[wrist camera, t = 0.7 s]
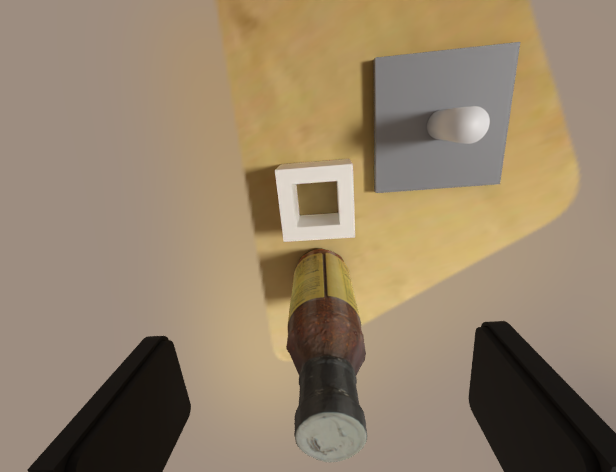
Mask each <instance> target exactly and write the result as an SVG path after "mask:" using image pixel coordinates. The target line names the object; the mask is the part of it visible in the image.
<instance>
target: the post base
mask: <svg viewBox="0 0 616 472" xmlns="http://www.w3.org/2000/svg"><path fill="white" fill-rule="evenodd" d="M519 47H520V42H515V43H506V44H497V45H488V46H478V47H469V48H460V49H451V50H442V51H433V52H423V53H414V54H405V55H396V56H387V57H377V58H375V59H374V181H375V192H376V193H384V192H398V191H411V190H425V189H439V188H452V187H466V186H480V185H494V184H500V180H501V173H502V166H503V159H504V152H505V145H506V138H507V131H508V124H509V117H510V110H511V103H512V96H513V89H514V82H515V75H516V68H517V61H518V54H519Z"/></svg>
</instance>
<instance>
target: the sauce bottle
mask: <svg viewBox="0 0 616 472" xmlns="http://www.w3.org/2000/svg"><path fill="white" fill-rule="evenodd" d="M287 340H288V341H287V346H286V347H287V350H288V352H289V353H290V355H291V358H292V360H293V362H294V364H295V367H296V369H297V371H298V374H299V385H300V397H299V406H298V408H297V410H296V413H295V440H296V444H297V445H298V447H299V448H300V449H301V450H302V451H303V452H304V453H305V454H307V455H309V456H311V457H313V458H315V459H317V460H321V461H324V462H338V461H342V460H345V459H348V458H350V457H352V456H354V455H355V454H356V453H358V452H359V451H360V450H361V449H362V448H363V447H364V445H365V443H366V440H367V430H366V422H365V416H364V412H363V410H362V408H361V407H360V405H359V401H358V394H357V389H356V375H357V373H358V371H359V369H360V367H361V365H362V363H363V362H364V360H365V355H366V352H365V345H364V338H363V334H362V331H361V321H360V316H359V312H358V308H357V304H356V300H355V296H354V292H353V287H352V283H351V279H350V274H349V270H348V268H347V266H346V265H345V263H344V261H343V259H342V258H341V257H340V256H339V255H338V254H336V253H334V252H332V251H329V250H325V249H315V250H312V251H310V252H308V253H306V254H305V255H303V256H302V257H301V258H300V260H299V262H298V264H297V266H296V269H295V272H294V277H293V286H292V293H291V302H290V311H289V320H288V339H287Z"/></svg>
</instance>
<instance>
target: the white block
mask: <svg viewBox="0 0 616 472" xmlns="http://www.w3.org/2000/svg"><path fill="white" fill-rule="evenodd" d="M275 176H276V184H277V192H278V200H279V208H280V216H281V224H282V232H283V240H284V242H288V241H304V240H321V239H337V238H353V237H355V217H354V187H353V164H352V162H351V161H350V159H339V160H327V161H315V162H303V163H290V164H281V165H280V166H279V167H278V168H277V169H276V170H275ZM329 181H337V200H338V213H327V214H312V215H300V214H299V204H298V194H297V184H303V183H316V182H329Z"/></svg>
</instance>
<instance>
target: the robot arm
mask: <svg viewBox="0 0 616 472" xmlns="http://www.w3.org/2000/svg"><path fill="white" fill-rule="evenodd" d="M469 403H470V407H471V410H472V412H473V414H474V416H475V418H476V420H477V422H478V423H479V425H480V427H481V429H482V431H483V432H484V435H485V437H486V439H487V440H488V442H489V444H490V446H491V448H492V450H493V452H494V454H495V456H496V457H497V459H498V461H499V463H500V465H501V467H502V469H503V471H504V472H616V433H615V432H614V431H613V430H612V429H611V428H610V427H609V426H608V425H607V424H606V423H605V422H604V421H603V420H602V419H601V418H600V417H599V416H598V415H597V414H596V413H595V412H594V411H593V409H592V408H591V407H589V405H588V404H587V403H586V402H585V401H584V400H583V399H582V398H581V397H580V396H579V395H578V394H577V393H576V392H575V391H574V390H573V389H572V388H571V387H570V386H569V385H568V384H567V383H566V382H565V381H564V380H563V379H562V378H561V377H560V376H559V375H558V374H557V373H556V372H555V371H554V370H553V369H552V367H551V366H550V365H549V364H548V363H547V362H546V361H545V360H544V359H543V358H542V357H541V356H540V355H539V354H538V353H537V352H536V351H535V350H534V349H533V348H532V347H531V346H530V345H529V344H528V343H527V342H526V341H525V340H524V339H523V338H522V337H521V336H520V335H519V334H518V333H517V332H516V330H515V329H514V328H513V327H512V326H511V325H510V324H508V323H507V322H505V321H498V322H484V323H483V324H482V326H481V327H478V328H477V329H476V332H475V342H474V351H473V361H472V370H471V380H470V389H469ZM190 410H191V404H190V401H189V397H188V393H187V390H186V386H185V383H184V380H183V376H182V372H181V368H180V365H179V361H178V358H177V354H176V351H175V347H174V344H173V342H172V341H170V340H168V338H167V337H166V336H152V337H151V336H150V337H146V338H144V339H143V340H142V341H141V343H140V344H139V345H138V346H137V347H136V348H135V349H134V350H133V351H132V353H131V354H130V355H129V356H128V357H127V358H126V359H125V360H124V362H123V363H122V364H121V365H120V366H119V367H118V368H117V370H116V371H115V372H114V373H113V374H112V375H111V376H110V377H109V379H108V380H107V381H106V382H105V383H104V384H103V385H102V386H101V388H100V389H99V390H98V391H97V392H96V393H95V394H94V395H93V397H92V398H91V399H90V400H89V401H88V402H87V403H86V404H85V406H84V407H83V408H82V409H81V410H80V411H79V412H78V413H77V415H76V416H75V417H74V418H73V419H72V420H71V421H70V422H69V424H68V425H67V426H66V427H65V428H64V429H63V430H62V432H61V433H60V434H59V435H58V436H57V437H56V438H55V439H54V441H53V442H52V443H51V444H50V445H49V446H48V447H47V448H46V450H45V451H44V452H43V453H42V454H41V455H40V456H39V457H38V459H37V460H36V461H35V462H34V463H33V464H32V465H31V466H30V468H29V469H28V472H163V469H164V467H165V465H166V463H167V461H168V459H169V457H170V455H171V453H172V451H173V448H174V447H175V445H176V442H177V440H178V438H179V436H180V434H181V432H182V430H183V428H184V426H185V424H186V422H187V420H188V417H189V415H190Z"/></svg>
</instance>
